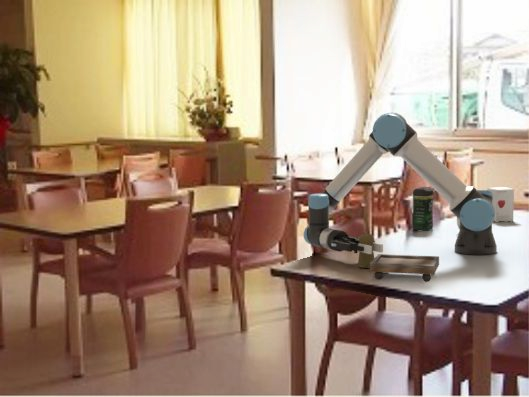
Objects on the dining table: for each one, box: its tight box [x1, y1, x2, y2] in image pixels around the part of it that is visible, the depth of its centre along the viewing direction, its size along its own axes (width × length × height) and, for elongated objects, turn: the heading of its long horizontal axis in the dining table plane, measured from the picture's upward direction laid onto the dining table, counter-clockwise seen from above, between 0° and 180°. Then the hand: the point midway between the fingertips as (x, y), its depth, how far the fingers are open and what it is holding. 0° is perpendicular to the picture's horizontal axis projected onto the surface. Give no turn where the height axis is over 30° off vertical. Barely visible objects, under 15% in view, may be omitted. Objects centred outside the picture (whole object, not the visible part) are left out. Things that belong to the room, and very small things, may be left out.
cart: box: [369, 253, 440, 283], centre depth 265 cm, size 20×15×6 cm
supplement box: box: [486, 186, 515, 223], centre depth 374 cm, size 9×9×15 cm
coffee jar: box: [411, 186, 434, 231], centre depth 354 cm, size 10×8×19 cm
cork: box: [357, 233, 375, 269], centre depth 281 cm, size 6×6×11 cm
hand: (376, 249), depth 276 cm, fingers closed on cork, 4 cm apart
